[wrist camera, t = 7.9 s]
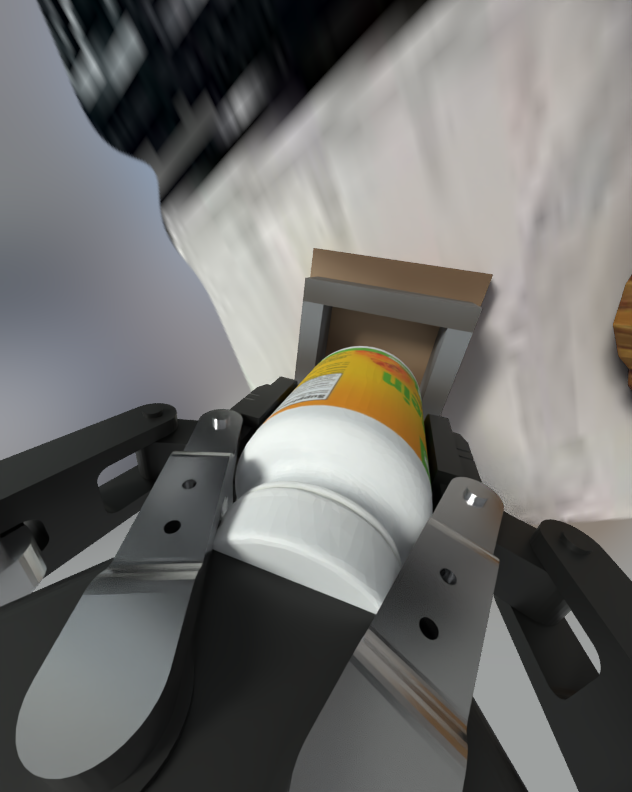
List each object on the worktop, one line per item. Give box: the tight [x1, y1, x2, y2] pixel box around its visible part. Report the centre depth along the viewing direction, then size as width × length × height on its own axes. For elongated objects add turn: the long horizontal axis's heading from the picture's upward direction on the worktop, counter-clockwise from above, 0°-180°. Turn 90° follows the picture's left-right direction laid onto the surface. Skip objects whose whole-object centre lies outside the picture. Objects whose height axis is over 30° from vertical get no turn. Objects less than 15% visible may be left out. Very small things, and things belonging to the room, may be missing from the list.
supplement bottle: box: [213, 346, 433, 614], centre depth 9 cm, size 5×5×10 cm
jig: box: [295, 248, 493, 420], centre depth 18 cm, size 12×10×4 cm
